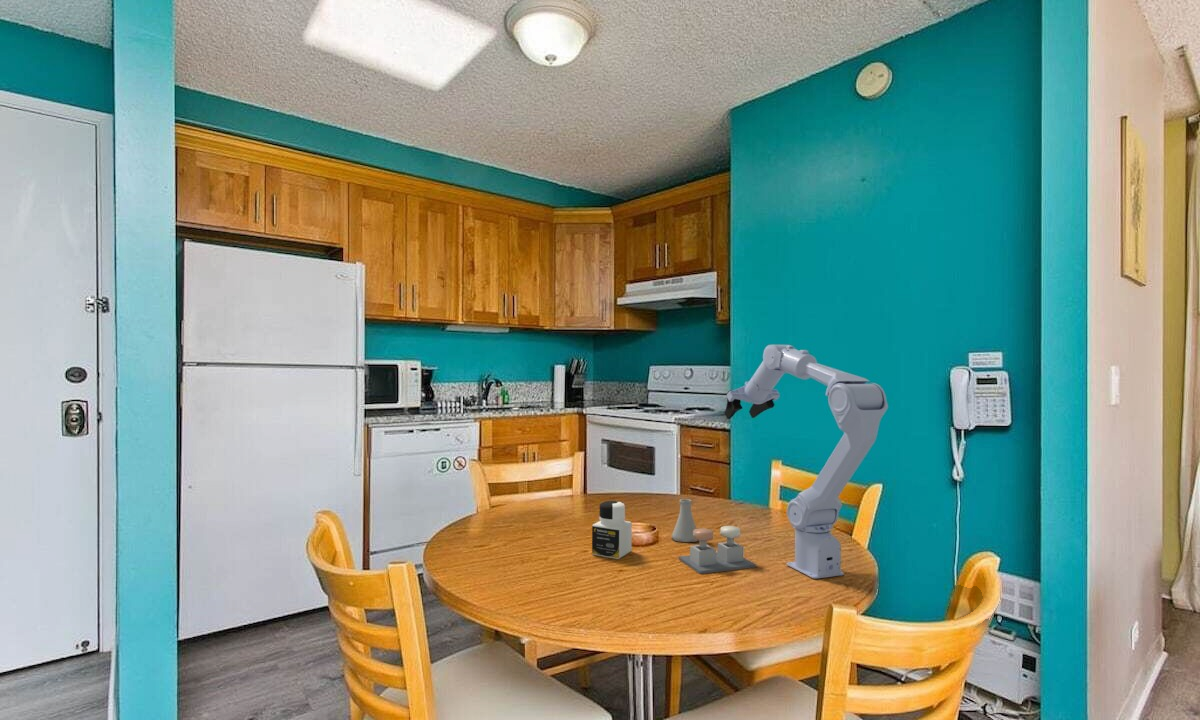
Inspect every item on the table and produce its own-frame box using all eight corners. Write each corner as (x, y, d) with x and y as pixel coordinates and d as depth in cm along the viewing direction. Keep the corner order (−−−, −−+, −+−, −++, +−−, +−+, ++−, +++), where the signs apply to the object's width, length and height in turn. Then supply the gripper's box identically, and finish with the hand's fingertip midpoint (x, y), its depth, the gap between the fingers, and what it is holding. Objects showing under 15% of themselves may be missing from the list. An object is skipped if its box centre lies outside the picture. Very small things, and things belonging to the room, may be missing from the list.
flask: (698, 535, 156) (698, 497, 156) (700, 543, 148) (700, 503, 148) (670, 534, 156) (671, 496, 156) (671, 542, 149) (671, 502, 149)
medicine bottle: (591, 555, 139) (591, 503, 139) (605, 546, 145) (605, 497, 145) (618, 559, 135) (619, 507, 136) (631, 551, 142) (632, 501, 142)
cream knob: (744, 550, 134) (744, 530, 134) (726, 552, 132) (727, 531, 132) (733, 544, 138) (733, 525, 138) (716, 546, 136) (716, 526, 136)
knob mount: (756, 567, 131) (756, 549, 131) (699, 573, 127) (700, 556, 127) (731, 553, 141) (731, 537, 141) (678, 559, 136) (678, 542, 136)
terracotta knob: (716, 553, 131) (716, 532, 131) (699, 555, 130) (699, 534, 130) (706, 547, 135) (706, 527, 135) (689, 549, 134) (689, 529, 134)
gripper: (779, 369, 152) (755, 402, 162) (732, 369, 147) (710, 404, 156) (792, 390, 148) (767, 423, 157) (743, 391, 142) (720, 425, 152)
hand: (739, 415), depth 156 cm, fingers open, 7 cm apart
